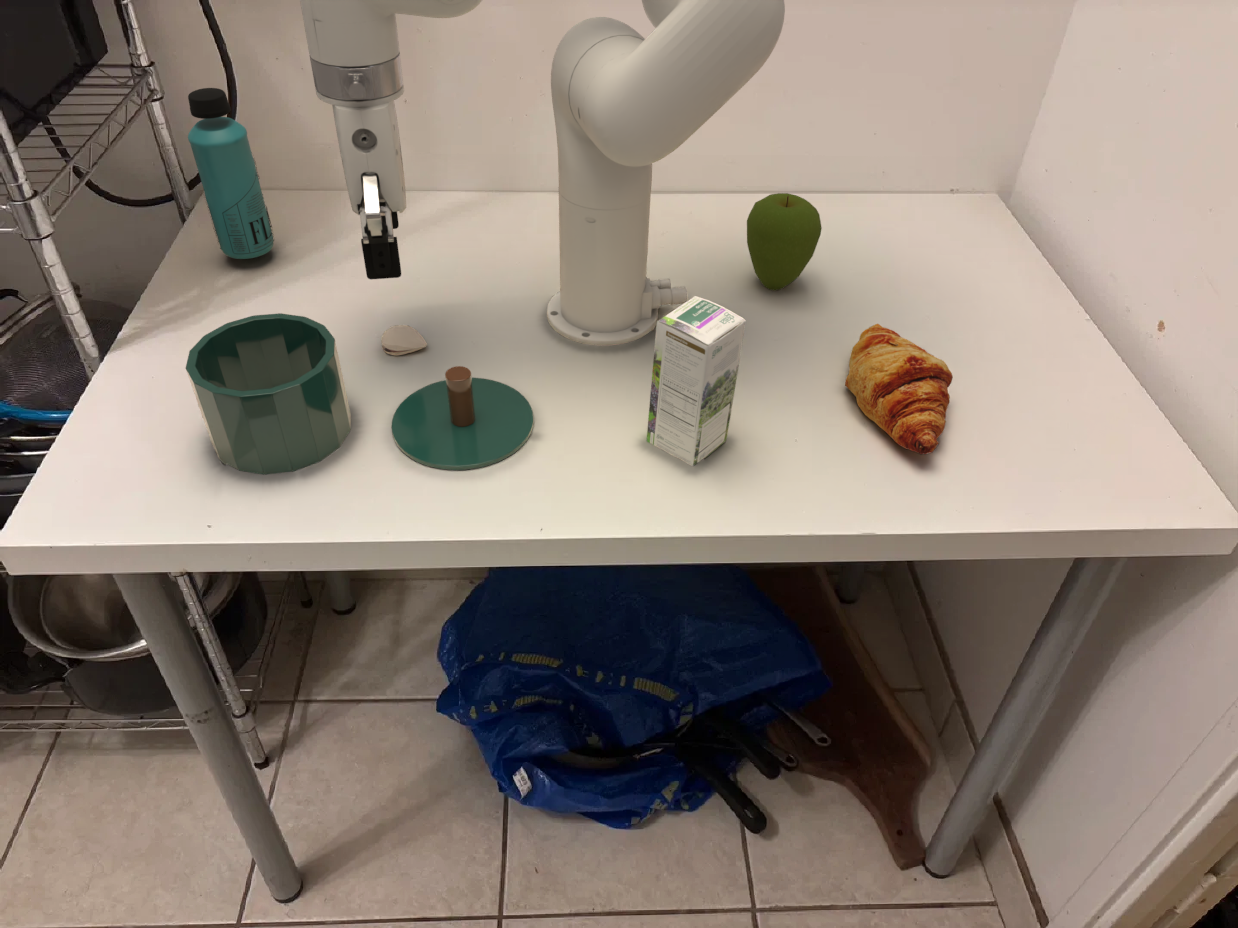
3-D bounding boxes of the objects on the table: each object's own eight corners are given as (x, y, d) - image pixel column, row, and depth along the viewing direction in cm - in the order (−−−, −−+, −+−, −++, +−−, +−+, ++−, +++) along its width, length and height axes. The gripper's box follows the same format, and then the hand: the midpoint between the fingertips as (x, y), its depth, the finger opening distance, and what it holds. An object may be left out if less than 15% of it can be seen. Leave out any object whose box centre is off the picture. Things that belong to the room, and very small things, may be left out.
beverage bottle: (263, 274, 111) (219, 106, 97) (211, 267, 112) (161, 99, 98) (288, 247, 116) (250, 84, 102) (238, 241, 116) (194, 78, 103)
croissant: (837, 367, 106) (815, 314, 101) (924, 331, 103) (905, 275, 98) (889, 493, 90) (865, 437, 85) (993, 454, 87) (974, 394, 82)
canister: (352, 387, 95) (335, 308, 89) (351, 469, 86) (332, 387, 79) (222, 400, 93) (196, 319, 86) (207, 485, 84) (176, 402, 77)
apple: (823, 294, 111) (842, 205, 103) (763, 309, 108) (778, 218, 100) (784, 260, 117) (798, 173, 109) (726, 273, 114) (736, 185, 106)
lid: (524, 379, 97) (521, 326, 92) (542, 466, 87) (541, 410, 82) (391, 392, 94) (382, 338, 90) (394, 483, 85) (384, 427, 80)
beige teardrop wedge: (394, 336, 102) (391, 316, 100) (436, 344, 101) (434, 324, 99) (376, 357, 99) (372, 337, 97) (419, 366, 98) (416, 346, 96)
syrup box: (680, 417, 93) (692, 291, 83) (729, 442, 90) (747, 315, 80) (645, 445, 90) (653, 317, 80) (694, 472, 87) (709, 343, 77)
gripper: (405, 111, 75) (426, 295, 86) (399, 40, 87) (418, 209, 99) (308, 114, 74) (343, 301, 85) (317, 42, 86) (346, 213, 98)
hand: (383, 251), depth 92 cm, fingers open, 9 cm apart
